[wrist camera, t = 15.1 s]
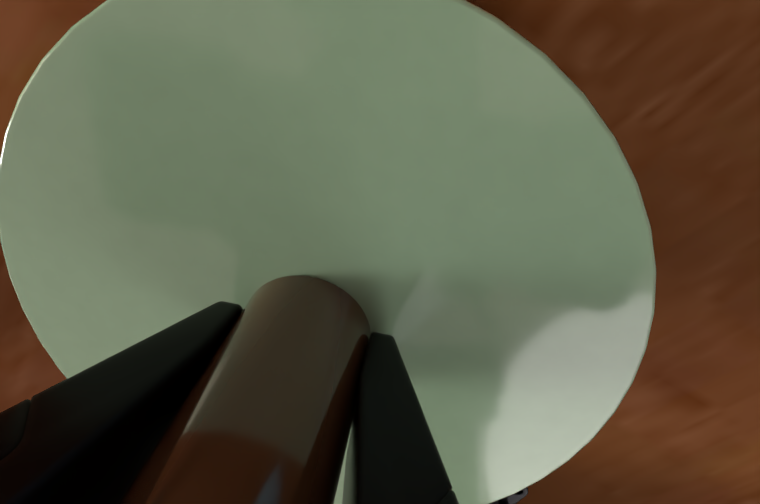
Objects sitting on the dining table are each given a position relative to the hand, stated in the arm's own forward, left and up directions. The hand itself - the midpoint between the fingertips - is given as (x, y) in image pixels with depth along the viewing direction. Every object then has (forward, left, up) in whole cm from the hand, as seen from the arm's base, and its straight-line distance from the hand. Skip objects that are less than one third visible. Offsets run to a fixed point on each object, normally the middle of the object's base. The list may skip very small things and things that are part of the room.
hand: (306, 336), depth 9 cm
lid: (0, 0, -1) cm, 1 cm away
